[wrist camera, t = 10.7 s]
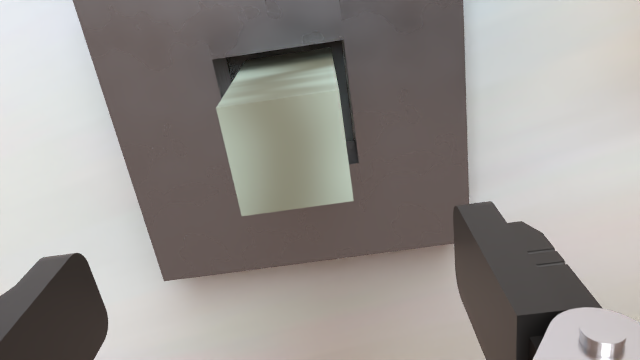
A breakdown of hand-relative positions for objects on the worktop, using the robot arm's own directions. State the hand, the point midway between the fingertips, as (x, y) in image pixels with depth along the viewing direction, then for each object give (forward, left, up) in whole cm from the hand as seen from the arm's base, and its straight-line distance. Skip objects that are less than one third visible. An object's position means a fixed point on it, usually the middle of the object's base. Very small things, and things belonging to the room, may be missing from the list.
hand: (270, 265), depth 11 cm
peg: (0, 0, -15) cm, 15 cm away
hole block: (0, 0, -15) cm, 15 cm away
